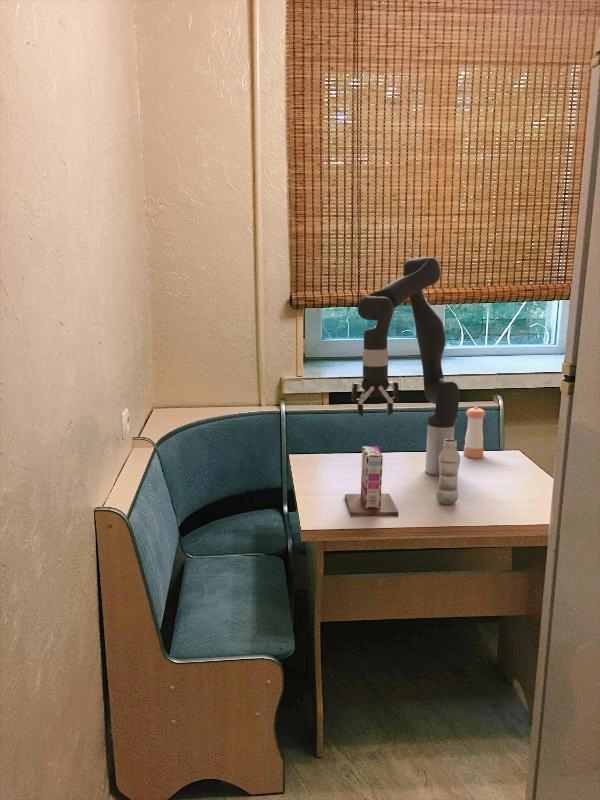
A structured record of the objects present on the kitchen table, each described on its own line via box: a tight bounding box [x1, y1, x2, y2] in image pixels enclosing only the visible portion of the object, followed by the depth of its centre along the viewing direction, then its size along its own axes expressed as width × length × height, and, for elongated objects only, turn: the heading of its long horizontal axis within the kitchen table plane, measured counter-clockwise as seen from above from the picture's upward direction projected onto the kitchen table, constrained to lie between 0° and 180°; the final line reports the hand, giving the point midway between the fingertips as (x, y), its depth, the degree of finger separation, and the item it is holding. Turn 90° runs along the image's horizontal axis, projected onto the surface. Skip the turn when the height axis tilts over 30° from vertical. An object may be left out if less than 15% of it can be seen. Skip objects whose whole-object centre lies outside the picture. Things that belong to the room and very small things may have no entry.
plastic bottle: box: [435, 439, 461, 505], centre depth 214 cm, size 6×7×20 cm
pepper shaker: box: [463, 406, 486, 459], centre depth 265 cm, size 7×7×19 cm
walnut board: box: [344, 493, 399, 517], centre depth 213 cm, size 14×16×1 cm
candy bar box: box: [360, 445, 384, 509], centre depth 211 cm, size 11×5×16 cm, turn 2°
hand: (375, 415), depth 214 cm, fingers open, 8 cm apart
